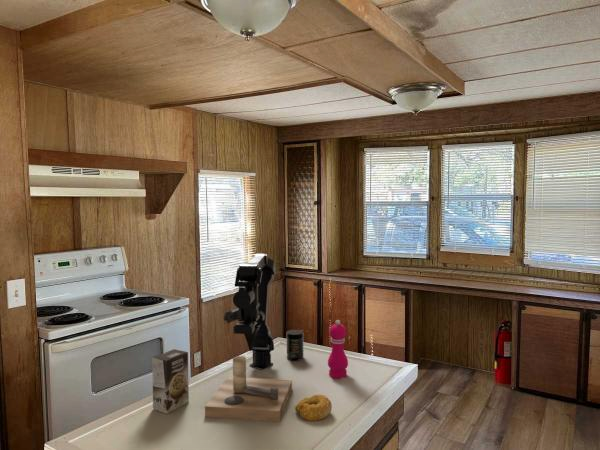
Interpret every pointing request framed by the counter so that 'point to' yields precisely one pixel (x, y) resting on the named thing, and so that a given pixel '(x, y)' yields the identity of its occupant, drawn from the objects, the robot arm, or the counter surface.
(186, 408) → the counter surface
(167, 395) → the coffee box
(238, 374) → the folding leg
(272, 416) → the stool seat
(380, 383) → the counter surface
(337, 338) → the pepper mill
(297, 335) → the supplement container
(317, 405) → the bagel
